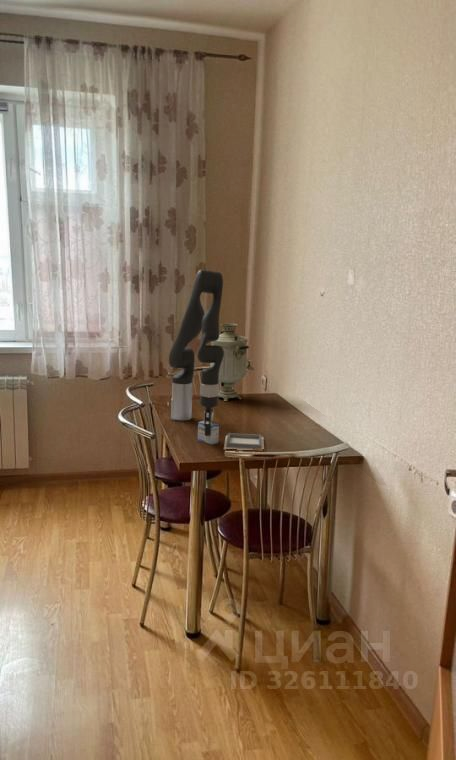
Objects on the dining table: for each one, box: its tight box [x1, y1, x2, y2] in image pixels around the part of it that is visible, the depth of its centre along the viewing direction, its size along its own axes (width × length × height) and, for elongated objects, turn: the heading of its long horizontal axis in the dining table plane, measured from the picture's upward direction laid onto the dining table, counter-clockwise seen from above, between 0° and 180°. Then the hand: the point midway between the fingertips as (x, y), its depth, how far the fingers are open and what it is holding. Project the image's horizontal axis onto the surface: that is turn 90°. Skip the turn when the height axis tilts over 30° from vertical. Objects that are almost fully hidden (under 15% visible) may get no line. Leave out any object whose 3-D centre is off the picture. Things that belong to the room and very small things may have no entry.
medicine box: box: [197, 420, 220, 446], centre depth 250 cm, size 8×4×9 cm, turn 50°
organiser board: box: [223, 432, 265, 451], centre depth 250 cm, size 16×17×3 cm
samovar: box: [209, 322, 255, 402], centre depth 323 cm, size 30×26×40 cm
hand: (208, 432), depth 250 cm, fingers open, 7 cm apart
